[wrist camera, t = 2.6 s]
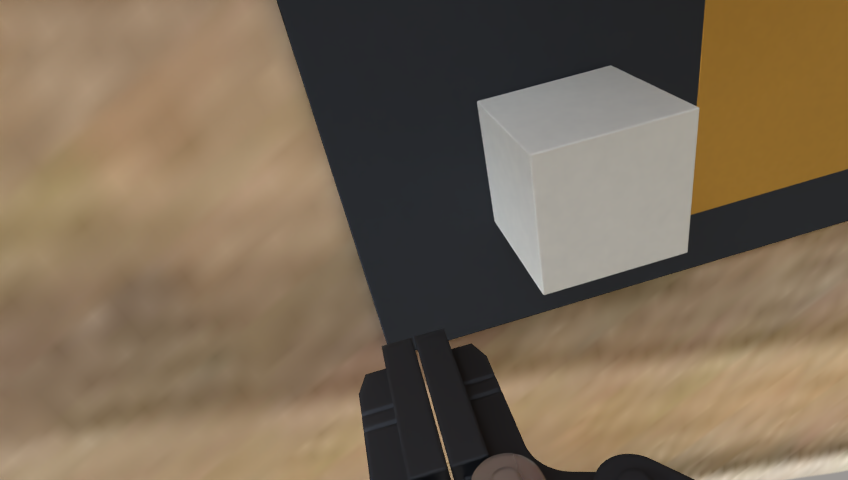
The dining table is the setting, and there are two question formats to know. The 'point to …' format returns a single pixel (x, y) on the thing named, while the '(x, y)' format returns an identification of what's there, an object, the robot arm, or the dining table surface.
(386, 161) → the mat
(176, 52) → the dining table surface
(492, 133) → the matte off-white cube
